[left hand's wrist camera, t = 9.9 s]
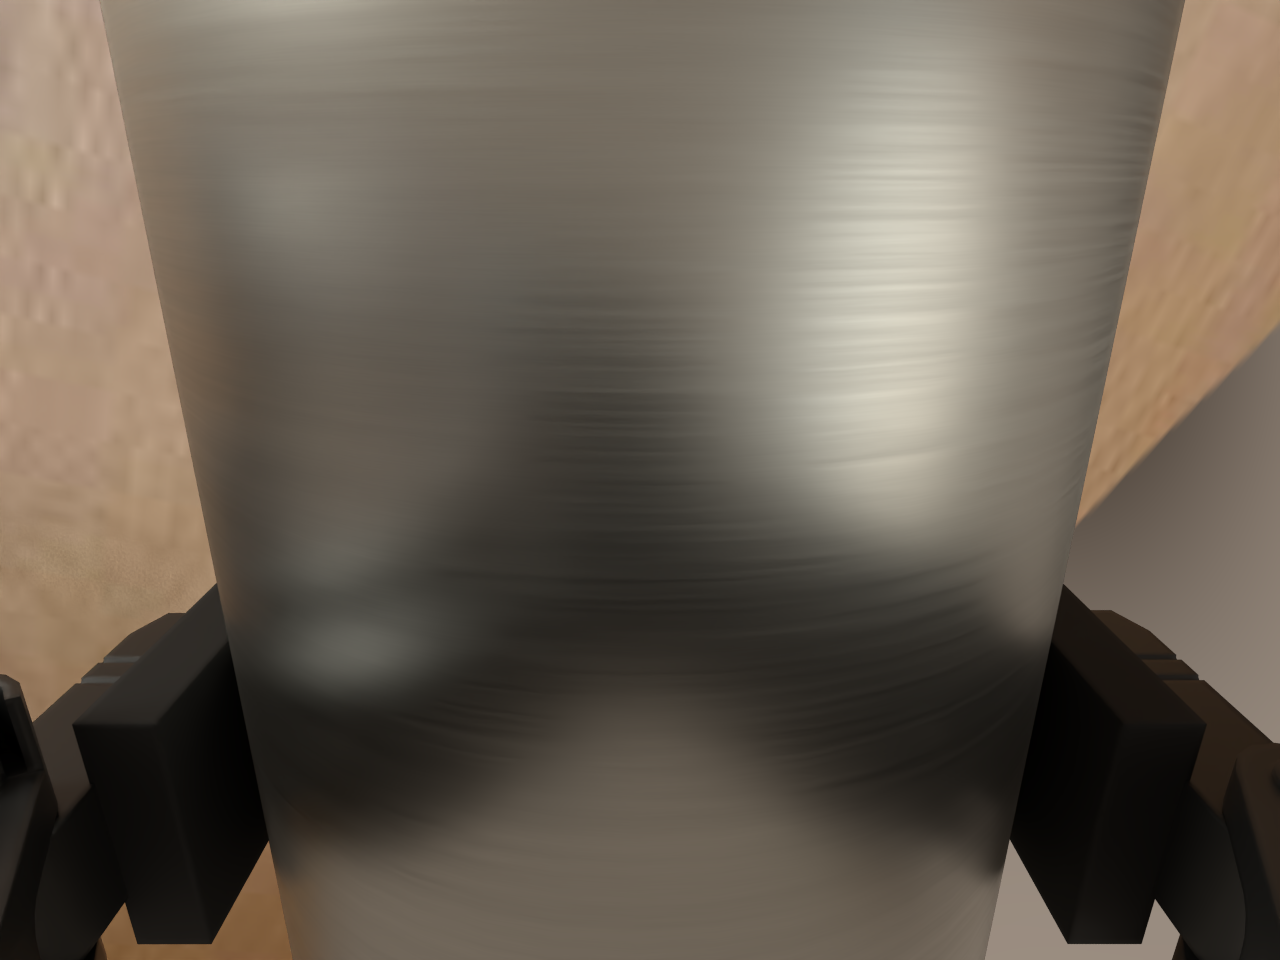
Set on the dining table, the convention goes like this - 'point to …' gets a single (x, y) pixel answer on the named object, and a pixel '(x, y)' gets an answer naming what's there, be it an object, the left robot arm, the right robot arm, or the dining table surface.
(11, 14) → the dining table surface
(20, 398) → the dining table surface
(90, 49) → the dining table surface
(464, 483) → the rod
